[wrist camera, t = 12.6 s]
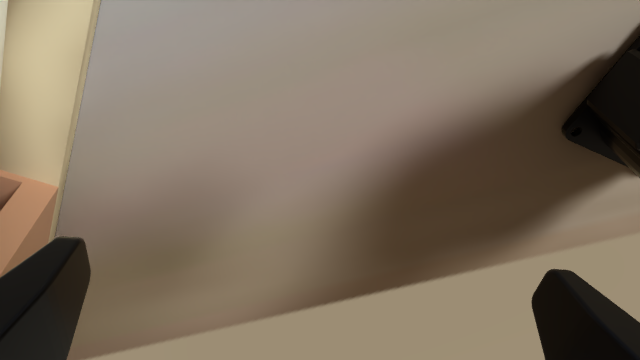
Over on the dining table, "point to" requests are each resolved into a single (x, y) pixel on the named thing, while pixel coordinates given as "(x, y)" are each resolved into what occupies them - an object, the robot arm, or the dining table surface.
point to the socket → (23, 218)
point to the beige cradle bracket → (2, 30)
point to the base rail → (44, 87)
